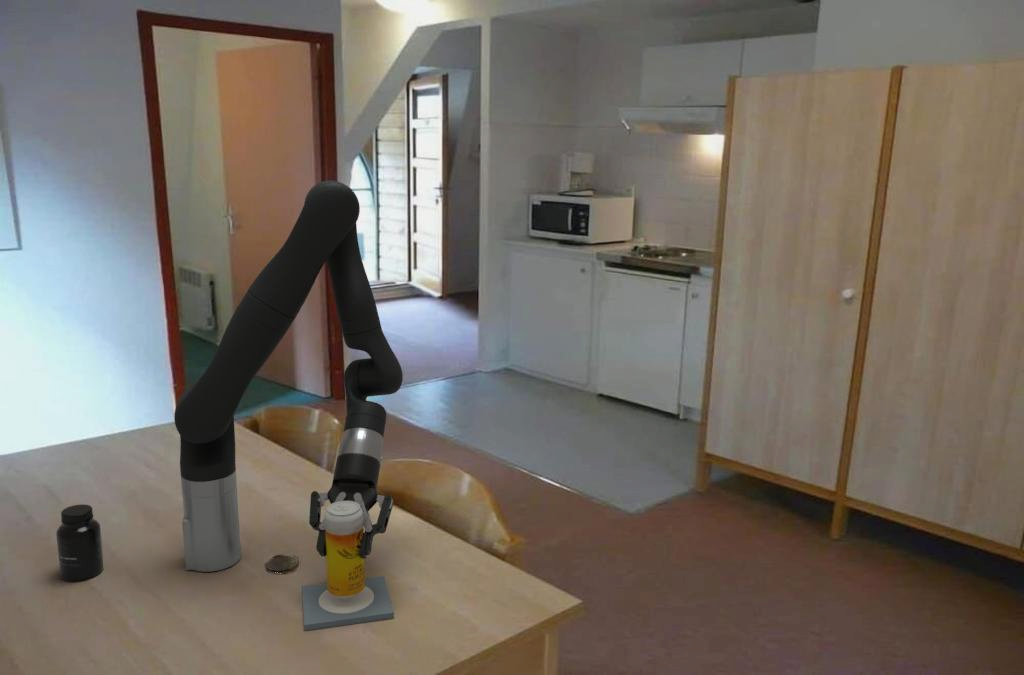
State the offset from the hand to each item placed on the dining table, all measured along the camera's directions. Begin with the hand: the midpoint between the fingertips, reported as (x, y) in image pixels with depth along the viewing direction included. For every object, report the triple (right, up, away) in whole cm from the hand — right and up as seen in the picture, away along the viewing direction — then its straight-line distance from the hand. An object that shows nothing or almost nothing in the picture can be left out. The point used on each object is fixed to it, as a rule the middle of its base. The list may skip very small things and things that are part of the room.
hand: (342, 555), depth 129 cm
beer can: (0, -7, +3) cm, 8 cm away
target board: (0, -9, +4) cm, 10 cm away
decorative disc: (-14, -6, +16) cm, 22 cm away
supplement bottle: (-49, -6, +12) cm, 50 cm away
